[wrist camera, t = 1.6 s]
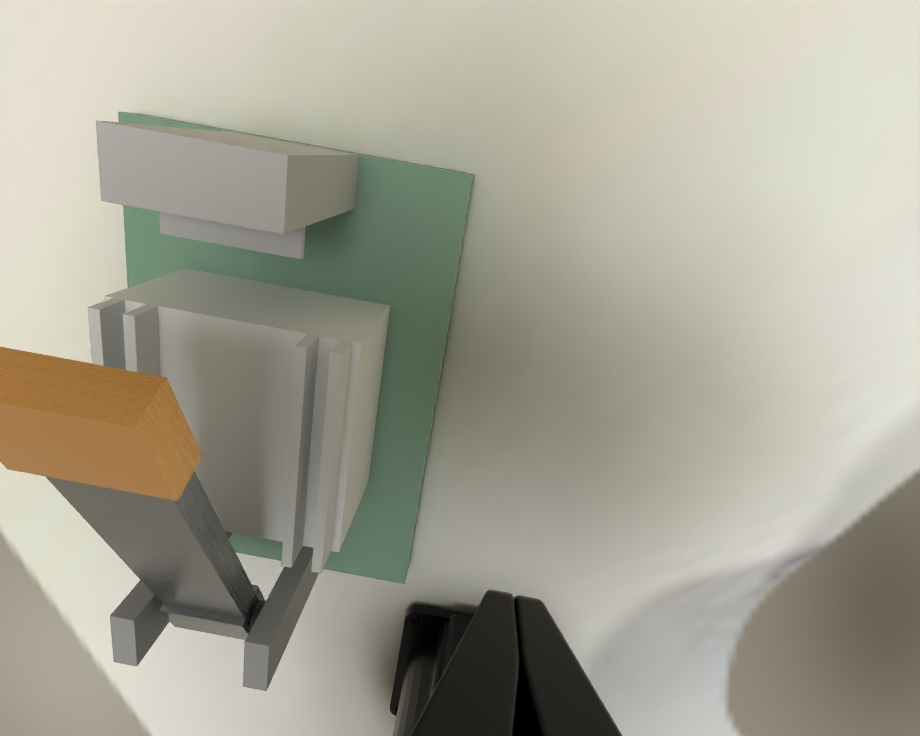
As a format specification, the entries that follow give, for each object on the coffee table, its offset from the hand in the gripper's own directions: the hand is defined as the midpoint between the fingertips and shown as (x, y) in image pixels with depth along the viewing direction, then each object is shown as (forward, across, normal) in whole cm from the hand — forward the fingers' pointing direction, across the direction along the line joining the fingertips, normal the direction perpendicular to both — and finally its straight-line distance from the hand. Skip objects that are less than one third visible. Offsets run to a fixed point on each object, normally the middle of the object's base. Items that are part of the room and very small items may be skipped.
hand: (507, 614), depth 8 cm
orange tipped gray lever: (+4, +8, +3) cm, 9 cm away
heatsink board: (+12, +8, +2) cm, 15 cm away
